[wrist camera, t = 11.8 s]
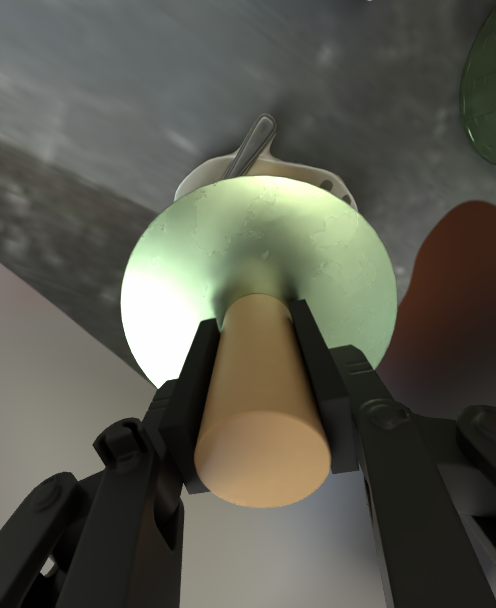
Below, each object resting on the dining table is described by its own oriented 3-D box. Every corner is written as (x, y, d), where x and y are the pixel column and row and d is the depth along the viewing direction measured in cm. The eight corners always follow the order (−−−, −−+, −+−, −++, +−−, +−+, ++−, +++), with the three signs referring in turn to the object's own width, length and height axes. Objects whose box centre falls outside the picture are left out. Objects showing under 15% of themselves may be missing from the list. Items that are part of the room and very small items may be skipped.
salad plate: (166, 99, 22) (144, 79, 18) (384, 141, 23) (414, 131, 18) (157, 318, 29) (140, 340, 25) (321, 343, 30) (332, 369, 26)
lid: (289, 444, 19) (317, 640, 11) (92, 350, 17) (-71, 515, 8) (446, 276, 15) (711, 398, 6) (205, 106, 12) (86, -96, 3)
